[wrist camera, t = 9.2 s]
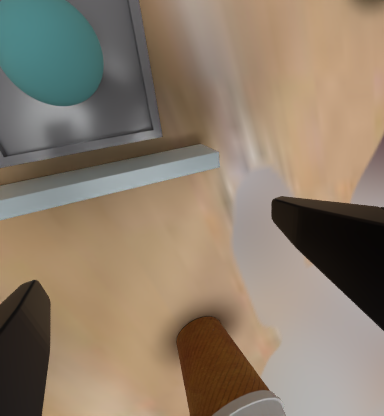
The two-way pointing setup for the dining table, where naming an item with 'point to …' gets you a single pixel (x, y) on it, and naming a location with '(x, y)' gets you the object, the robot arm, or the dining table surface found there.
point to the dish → (96, 104)
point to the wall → (103, 179)
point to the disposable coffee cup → (221, 374)
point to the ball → (49, 51)
